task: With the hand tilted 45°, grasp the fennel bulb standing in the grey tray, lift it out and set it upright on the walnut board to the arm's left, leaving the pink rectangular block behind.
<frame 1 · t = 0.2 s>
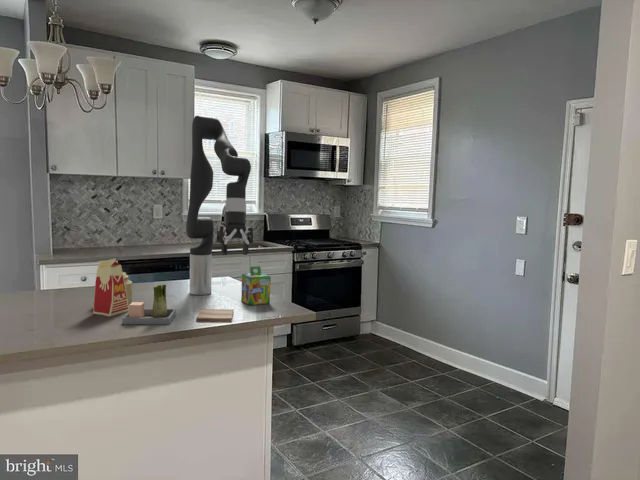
hand: (235, 254, 173), 22 cm above the countertop, tool pointing down, fingers open, 8 cm apart
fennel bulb: (159, 318, 164), resting in grey tray
sugar bowl: (116, 303, 183), on the countertop
grey tray: (150, 319, 163), on the countertop
board: (215, 316, 169), on the countertop
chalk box: (255, 302, 192), on the countertop
pink rectangular block: (136, 320, 160), resting in grey tray
milk carton: (110, 312, 170), on the countertop
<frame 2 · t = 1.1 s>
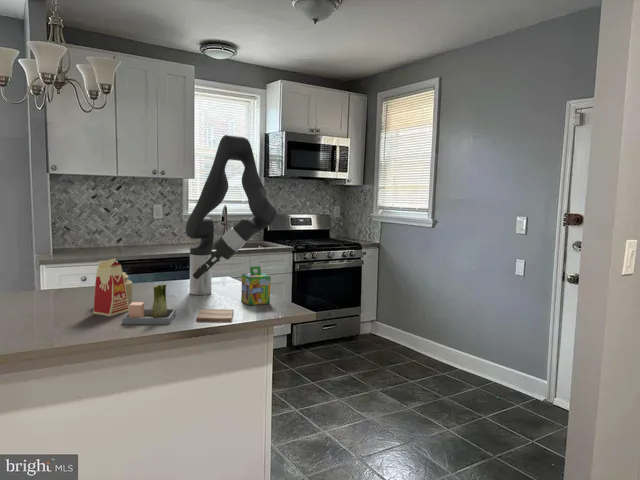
hand: (196, 275, 164), 16 cm above the countertop, tool tilted 45°, fingers open, 8 cm apart
nothing on the countertop moved.
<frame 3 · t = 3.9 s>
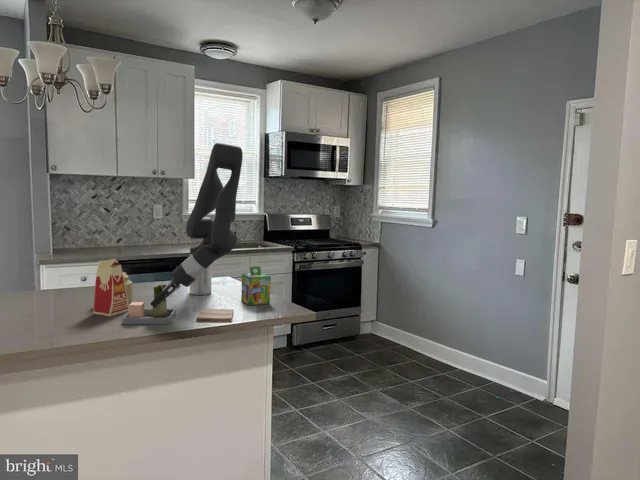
hand: (154, 303, 163), 5 cm above the countertop, tool tilted 45°, fingers closed on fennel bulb, 5 cm apart
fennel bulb: (159, 318, 164), resting in grey tray, touching gripper
everything else where it was.
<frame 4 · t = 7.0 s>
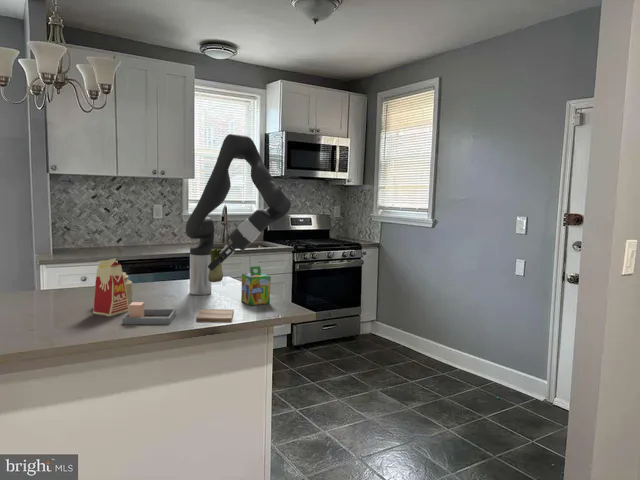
hand: (210, 267, 166), 18 cm above the countertop, tool tilted 45°, fingers closed on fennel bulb, 5 cm apart
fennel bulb: (215, 282, 167), point 13 cm above the countertop, touching gripper
everything else where it was.
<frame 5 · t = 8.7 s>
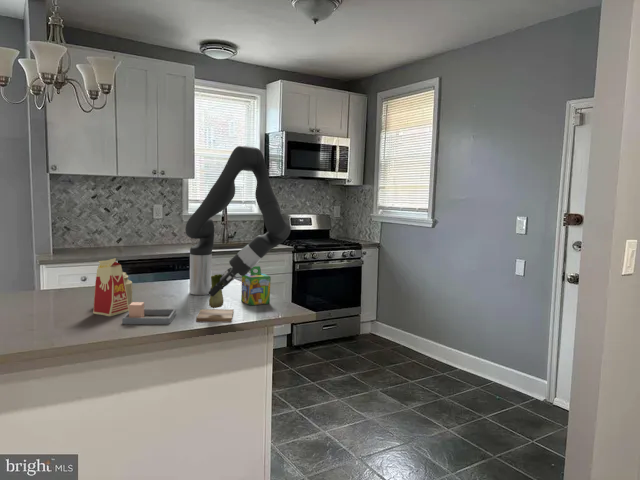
hand: (211, 292, 167), 9 cm above the countertop, tool tilted 45°, fingers closed on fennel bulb, 5 cm apart
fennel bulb: (216, 307, 168), point 3 cm above the countertop, touching gripper
everything else where it was.
when the fingers open (7 cm above the countertop, at t = 9.9 s): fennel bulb drops 1 cm, resting on board.
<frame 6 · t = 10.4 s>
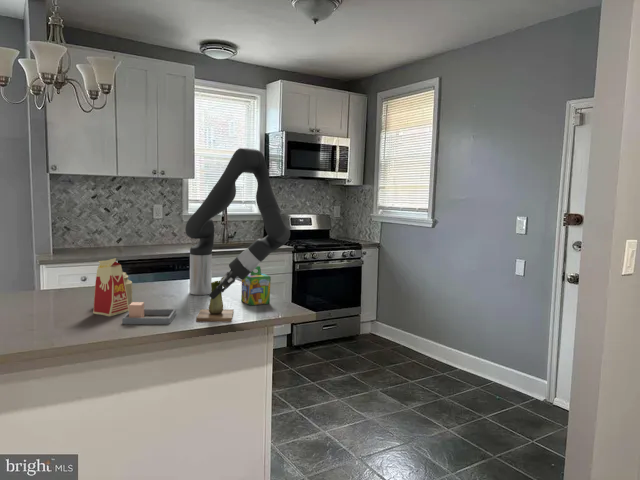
hand: (212, 294, 167), 8 cm above the countertop, tool tilted 45°, fingers open, 8 cm apart
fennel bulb: (216, 314, 168), point 1 cm above the countertop, touching board
everything else where it was.
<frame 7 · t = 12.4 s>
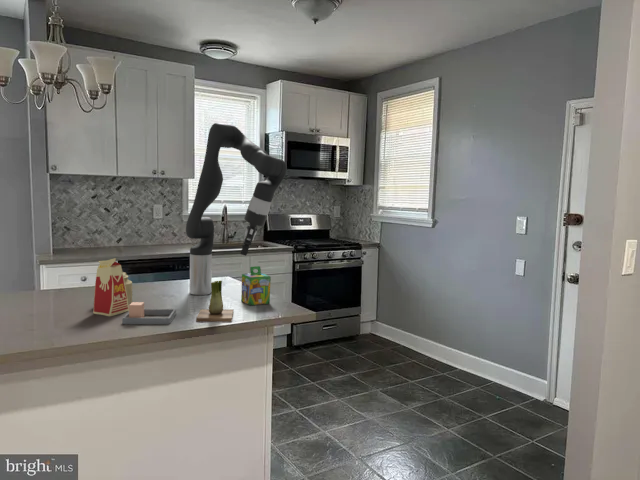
hand: (243, 251, 172), 23 cm above the countertop, tool tilted 20°, fingers open, 8 cm apart
nothing on the countertop moved.
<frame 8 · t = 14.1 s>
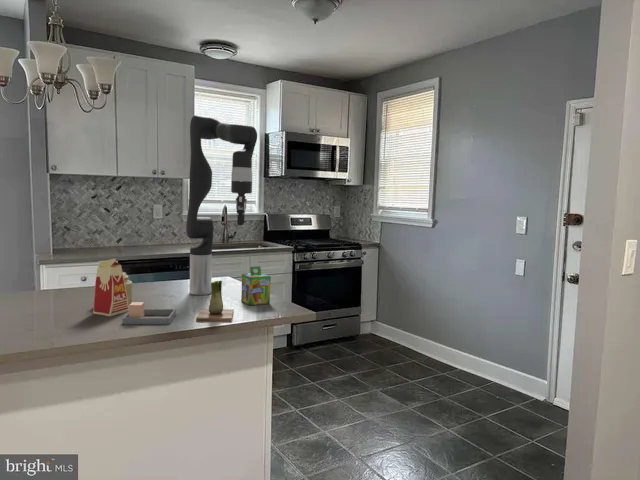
hand: (240, 224, 174), 33 cm above the countertop, tool pointing down, fingers open, 8 cm apart
nothing on the countertop moved.
at the end: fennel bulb inside the target area (0.2 cm from its centre), point 1.0 cm above the countertop; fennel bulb tilted 0°; the gripper is holding nothing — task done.
